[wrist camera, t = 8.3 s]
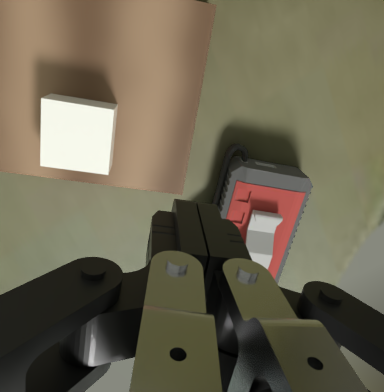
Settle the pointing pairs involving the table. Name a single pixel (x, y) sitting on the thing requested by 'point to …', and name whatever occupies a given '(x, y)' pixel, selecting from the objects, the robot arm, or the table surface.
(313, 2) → the table surface
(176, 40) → the tan flat block
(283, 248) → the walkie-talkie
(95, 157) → the tile
